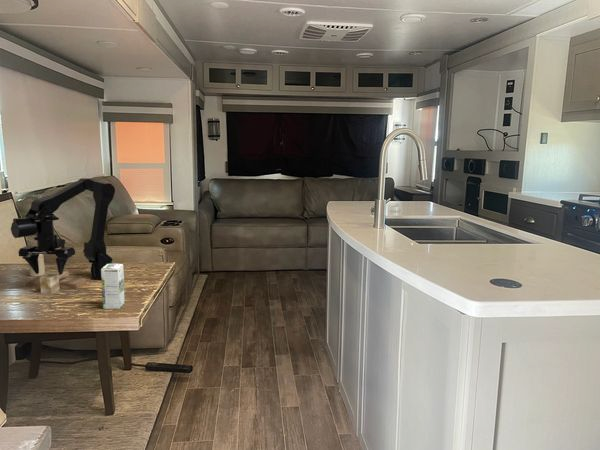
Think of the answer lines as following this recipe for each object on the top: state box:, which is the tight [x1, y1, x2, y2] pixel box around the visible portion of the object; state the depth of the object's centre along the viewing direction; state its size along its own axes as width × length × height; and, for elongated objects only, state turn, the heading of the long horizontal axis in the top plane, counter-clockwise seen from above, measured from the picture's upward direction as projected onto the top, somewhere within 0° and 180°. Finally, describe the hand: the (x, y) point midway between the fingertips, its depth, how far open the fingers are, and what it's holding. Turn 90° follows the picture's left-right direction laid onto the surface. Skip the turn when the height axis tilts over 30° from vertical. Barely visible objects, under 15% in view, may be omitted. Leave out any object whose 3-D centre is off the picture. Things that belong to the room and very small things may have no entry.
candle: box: [28, 254, 46, 278], centre depth 187 cm, size 6×6×10 cm
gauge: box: [39, 271, 70, 295], centre depth 172 cm, size 4×14×6 cm, turn 175°
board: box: [26, 276, 87, 290], centre depth 176 cm, size 20×6×2 cm, turn 85°
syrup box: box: [101, 263, 126, 310], centre depth 153 cm, size 6×6×14 cm
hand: (49, 274), depth 167 cm, fingers open, 9 cm apart
